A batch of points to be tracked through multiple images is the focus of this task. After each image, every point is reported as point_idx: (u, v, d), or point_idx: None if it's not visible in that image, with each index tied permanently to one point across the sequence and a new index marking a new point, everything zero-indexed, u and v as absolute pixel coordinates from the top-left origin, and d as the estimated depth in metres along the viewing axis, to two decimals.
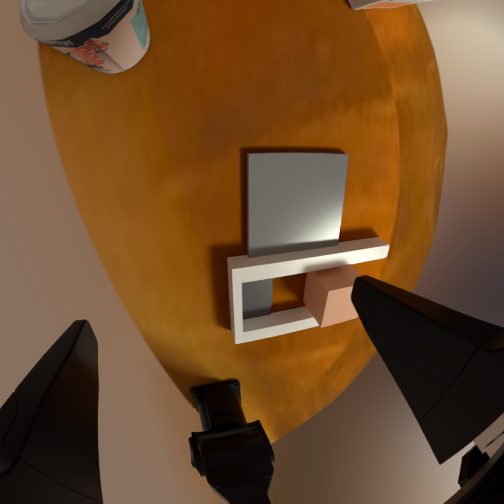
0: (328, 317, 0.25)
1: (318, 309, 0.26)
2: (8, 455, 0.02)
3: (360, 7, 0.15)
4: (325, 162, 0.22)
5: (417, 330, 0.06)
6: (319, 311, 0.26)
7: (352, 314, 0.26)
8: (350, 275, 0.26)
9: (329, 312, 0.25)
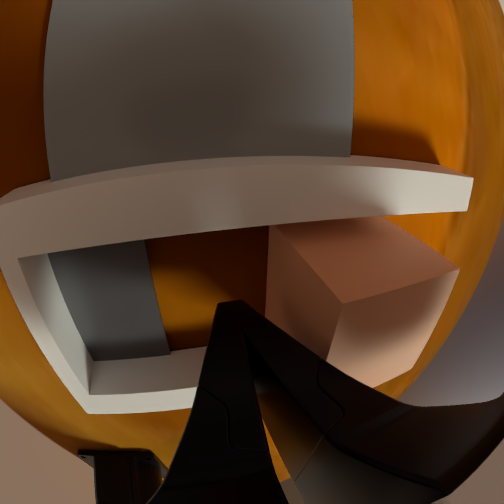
0: None
1: None
2: (254, 458, 0.03)
3: None
4: None
5: (268, 382, 0.05)
6: None
7: (402, 365, 0.08)
8: (405, 248, 0.07)
9: None
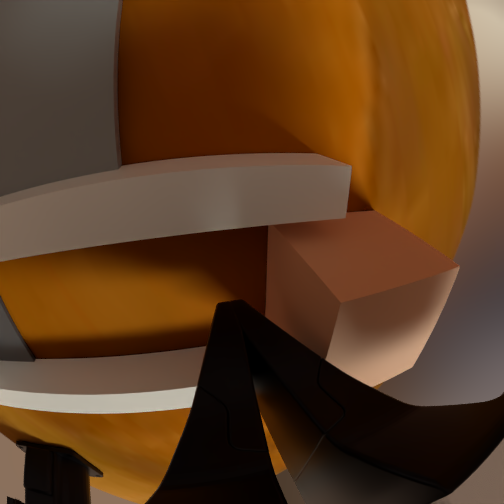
0: None
1: None
2: (252, 459, 0.03)
3: None
4: None
5: (269, 382, 0.05)
6: None
7: (402, 364, 0.08)
8: (405, 246, 0.07)
9: None
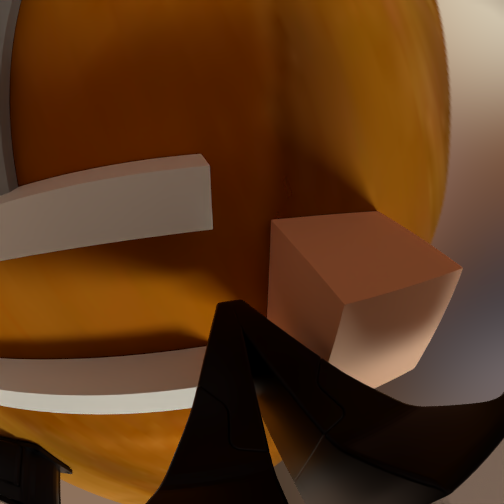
0: None
1: None
2: (253, 458, 0.03)
3: None
4: None
5: (268, 382, 0.05)
6: None
7: (404, 365, 0.08)
8: (408, 247, 0.07)
9: None
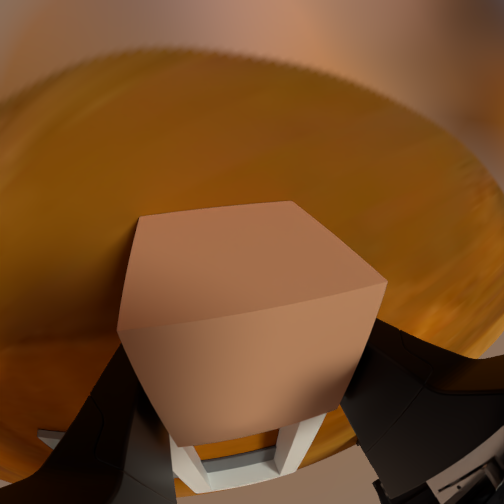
0: (302, 412, 0.06)
1: None
2: (106, 472, 0.03)
3: None
4: None
5: None
6: None
7: (348, 327, 0.05)
8: None
9: (278, 419, 0.06)
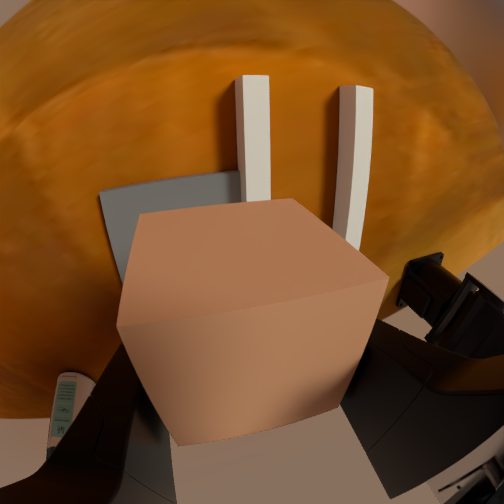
0: (303, 410, 0.06)
1: None
2: (106, 472, 0.03)
3: None
4: (117, 225, 0.16)
5: None
6: None
7: (349, 323, 0.05)
8: None
9: (279, 418, 0.06)
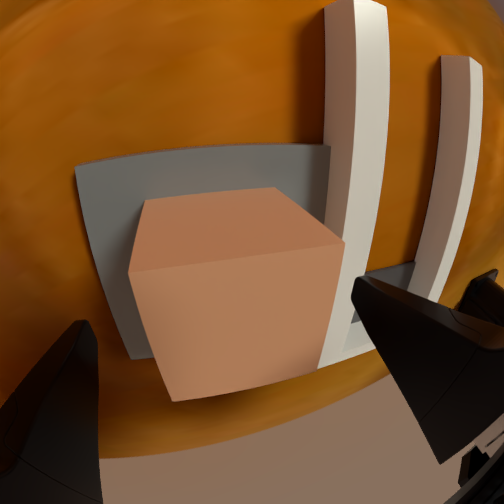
0: (283, 369, 0.07)
1: None
2: (7, 455, 0.02)
3: None
4: (106, 228, 0.09)
5: (417, 330, 0.06)
6: None
7: (314, 281, 0.06)
8: None
9: (261, 374, 0.07)
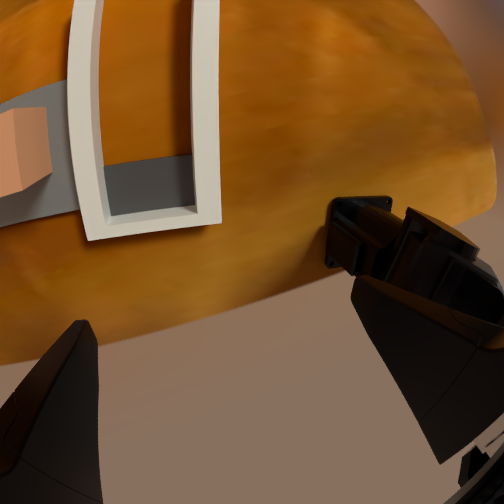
0: (5, 184, 0.10)
1: None
2: (8, 455, 0.02)
3: None
4: None
5: (417, 330, 0.06)
6: None
7: (4, 128, 0.08)
8: None
9: None
